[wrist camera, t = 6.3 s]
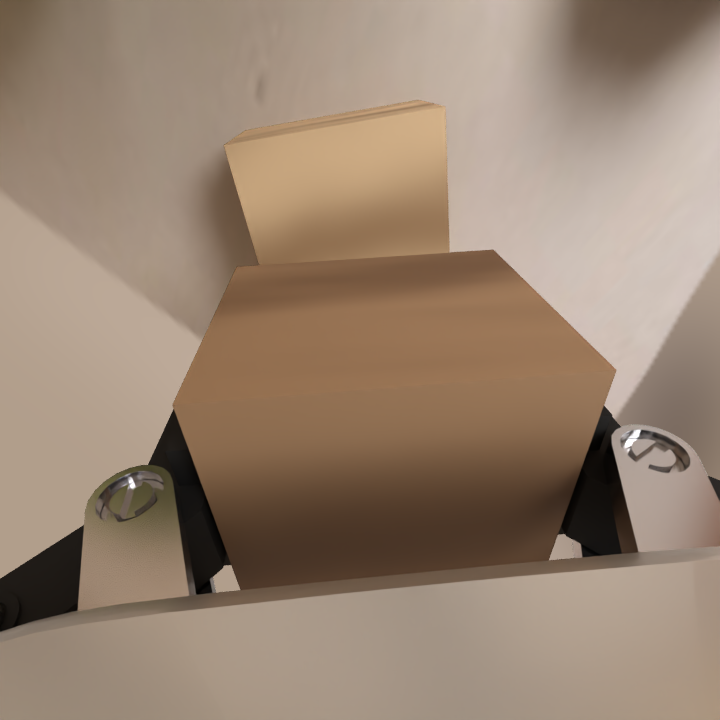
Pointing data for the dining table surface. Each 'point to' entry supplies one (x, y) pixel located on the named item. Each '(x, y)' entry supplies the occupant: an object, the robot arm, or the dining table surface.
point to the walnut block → (388, 417)
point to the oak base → (345, 185)
